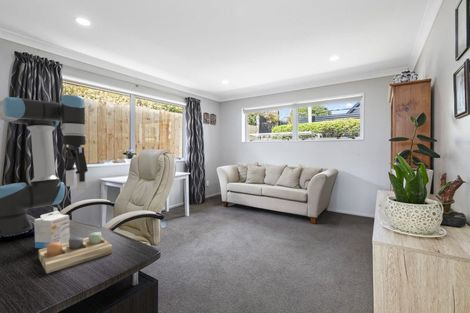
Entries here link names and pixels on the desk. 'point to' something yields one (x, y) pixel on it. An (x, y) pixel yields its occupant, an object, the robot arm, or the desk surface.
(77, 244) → the charcoal button
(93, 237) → the sage button
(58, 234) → the ink box
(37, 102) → the robot arm
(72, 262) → the panel
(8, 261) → the desk surface
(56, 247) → the orange button
